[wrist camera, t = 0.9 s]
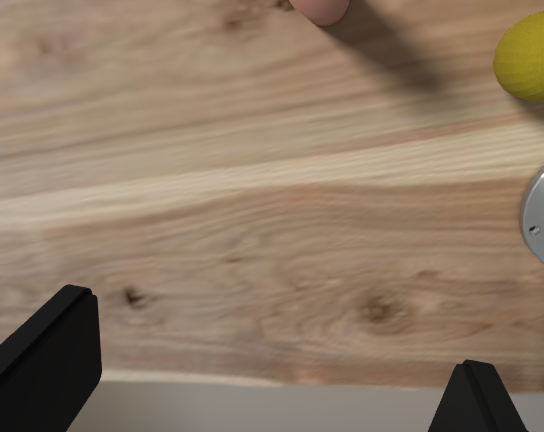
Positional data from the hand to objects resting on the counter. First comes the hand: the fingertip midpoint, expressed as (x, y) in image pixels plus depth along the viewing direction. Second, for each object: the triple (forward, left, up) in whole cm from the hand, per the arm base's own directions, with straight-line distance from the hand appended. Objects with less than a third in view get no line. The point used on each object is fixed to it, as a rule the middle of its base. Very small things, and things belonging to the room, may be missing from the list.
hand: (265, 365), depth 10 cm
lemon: (-16, -1, -27) cm, 31 cm away
